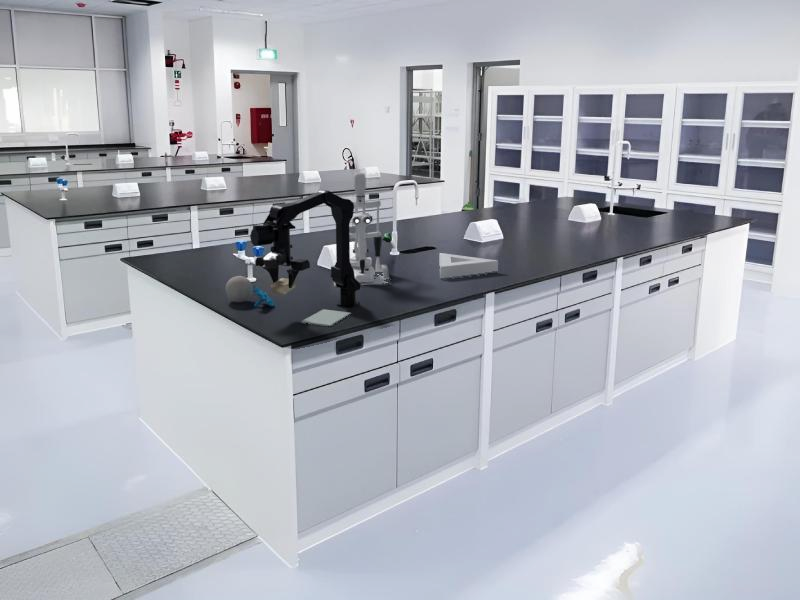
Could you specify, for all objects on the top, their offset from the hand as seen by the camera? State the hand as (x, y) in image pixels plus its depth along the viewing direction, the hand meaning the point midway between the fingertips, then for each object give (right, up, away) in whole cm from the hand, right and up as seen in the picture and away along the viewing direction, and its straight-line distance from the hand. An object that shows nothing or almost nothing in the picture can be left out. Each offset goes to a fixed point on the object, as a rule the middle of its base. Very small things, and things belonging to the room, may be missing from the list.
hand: (283, 287), depth 240 cm
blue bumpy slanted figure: (-10, -7, +17) cm, 21 cm away
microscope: (+24, +4, +59) cm, 64 cm away
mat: (+15, -11, +2) cm, 19 cm away
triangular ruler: (+71, +7, +73) cm, 102 cm away
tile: (0, -1, 0) cm, 1 cm away
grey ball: (-20, -5, +22) cm, 30 cm away
